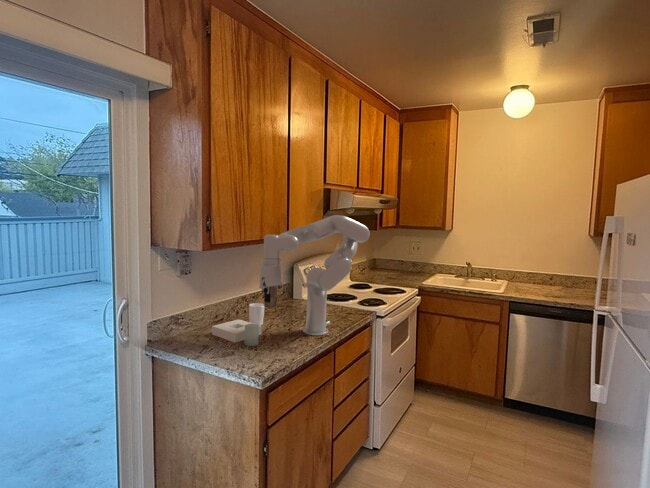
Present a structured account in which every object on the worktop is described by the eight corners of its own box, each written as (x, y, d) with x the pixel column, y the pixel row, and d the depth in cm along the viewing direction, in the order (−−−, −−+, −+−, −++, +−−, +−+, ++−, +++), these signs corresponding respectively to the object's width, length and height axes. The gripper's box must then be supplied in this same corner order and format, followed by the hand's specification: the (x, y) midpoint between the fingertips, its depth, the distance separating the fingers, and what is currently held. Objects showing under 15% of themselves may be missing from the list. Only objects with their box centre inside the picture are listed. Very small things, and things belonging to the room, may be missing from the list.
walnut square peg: (270, 305, 182) (270, 284, 181) (276, 306, 179) (277, 285, 179) (264, 306, 179) (264, 285, 178) (270, 308, 176) (271, 286, 175)
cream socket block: (238, 327, 192) (238, 319, 192) (261, 334, 183) (261, 326, 183) (212, 334, 180) (212, 326, 179) (235, 342, 170) (235, 333, 170)
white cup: (251, 326, 194) (252, 307, 193) (246, 322, 201) (246, 303, 200) (266, 325, 198) (267, 305, 197) (260, 321, 205) (261, 302, 204)
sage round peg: (251, 340, 174) (252, 323, 173) (261, 343, 171) (261, 325, 170) (241, 343, 169) (241, 325, 169) (250, 347, 166) (251, 328, 165)
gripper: (278, 259, 186) (277, 296, 188) (252, 262, 173) (251, 302, 174) (290, 261, 182) (288, 299, 183) (264, 264, 168) (263, 305, 170)
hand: (270, 300), depth 179 cm, fingers closed on walnut square peg, 4 cm apart
